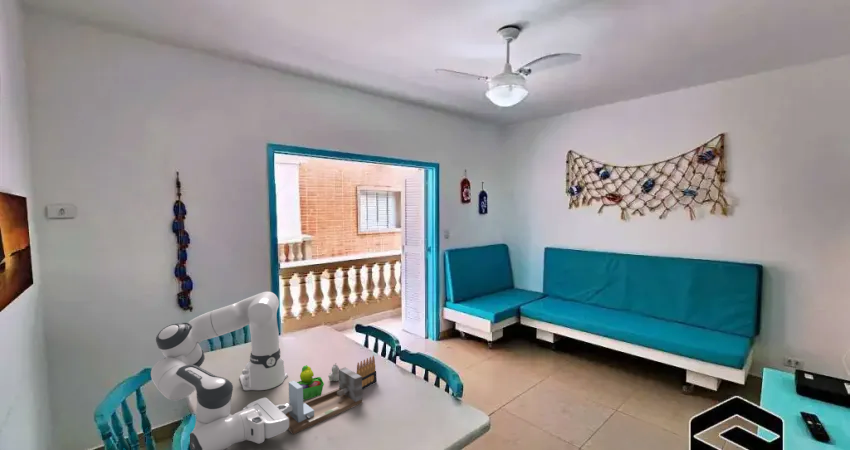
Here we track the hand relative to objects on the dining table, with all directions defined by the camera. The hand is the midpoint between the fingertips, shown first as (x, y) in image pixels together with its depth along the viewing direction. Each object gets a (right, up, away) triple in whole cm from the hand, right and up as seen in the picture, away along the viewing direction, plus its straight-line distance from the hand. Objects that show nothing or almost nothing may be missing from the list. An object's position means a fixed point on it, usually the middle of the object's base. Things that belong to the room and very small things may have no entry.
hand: (290, 406), depth 129 cm
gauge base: (+9, -6, +9) cm, 14 cm away
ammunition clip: (+22, -5, +28) cm, 36 cm away
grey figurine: (+8, -5, +33) cm, 34 cm away
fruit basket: (0, -6, +21) cm, 22 cm away
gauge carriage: (+4, -5, +2) cm, 6 cm away
